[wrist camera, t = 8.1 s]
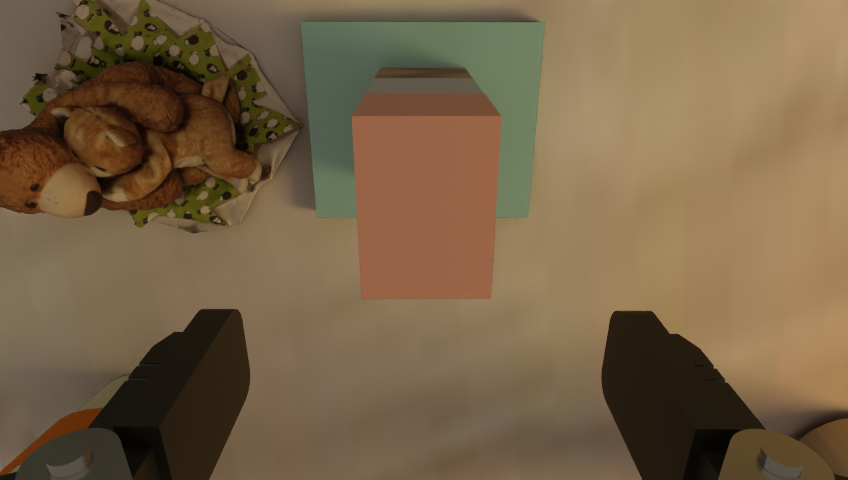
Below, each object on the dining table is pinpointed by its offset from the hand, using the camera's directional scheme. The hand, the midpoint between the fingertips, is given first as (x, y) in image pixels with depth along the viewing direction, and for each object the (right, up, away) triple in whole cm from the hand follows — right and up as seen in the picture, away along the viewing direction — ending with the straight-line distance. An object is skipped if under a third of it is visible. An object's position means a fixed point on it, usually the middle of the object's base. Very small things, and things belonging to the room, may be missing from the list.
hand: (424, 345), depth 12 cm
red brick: (0, +5, +12) cm, 13 cm away
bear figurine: (-16, +10, +23) cm, 30 cm away
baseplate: (0, +10, +22) cm, 24 cm away
